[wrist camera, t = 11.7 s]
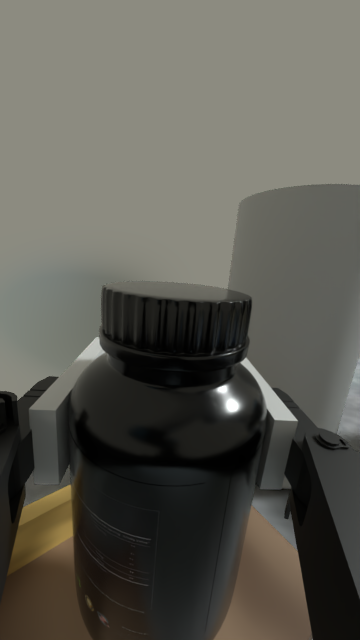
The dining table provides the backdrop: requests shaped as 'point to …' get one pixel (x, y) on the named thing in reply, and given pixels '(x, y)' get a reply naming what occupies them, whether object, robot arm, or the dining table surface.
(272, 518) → the dining table surface
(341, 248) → the cylinder vase
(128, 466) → the supplement bottle
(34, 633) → the brown flat block
